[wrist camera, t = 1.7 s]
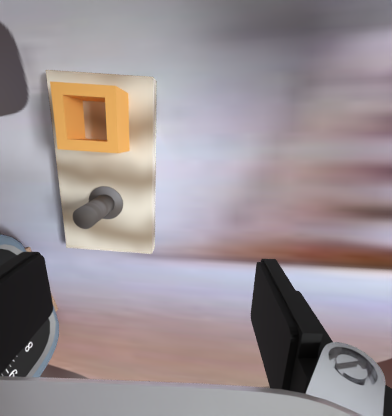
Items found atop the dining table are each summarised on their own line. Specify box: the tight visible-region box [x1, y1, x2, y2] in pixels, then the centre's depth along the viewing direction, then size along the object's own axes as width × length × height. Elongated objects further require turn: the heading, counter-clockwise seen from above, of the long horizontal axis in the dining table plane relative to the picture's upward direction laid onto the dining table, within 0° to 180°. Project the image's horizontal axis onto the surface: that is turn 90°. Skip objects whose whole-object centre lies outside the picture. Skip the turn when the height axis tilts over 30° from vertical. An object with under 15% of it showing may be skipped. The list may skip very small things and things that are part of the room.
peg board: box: [46, 70, 157, 254], centre depth 27 cm, size 22×12×8 cm, turn 176°
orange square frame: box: [50, 81, 130, 153], centre depth 25 cm, size 6×6×4 cm
